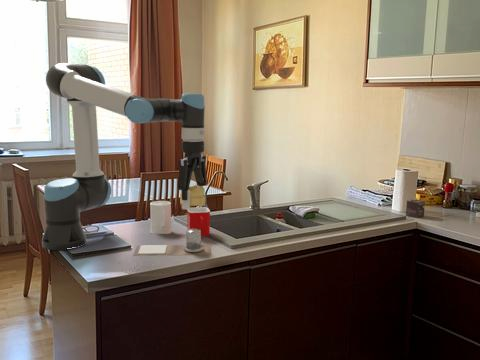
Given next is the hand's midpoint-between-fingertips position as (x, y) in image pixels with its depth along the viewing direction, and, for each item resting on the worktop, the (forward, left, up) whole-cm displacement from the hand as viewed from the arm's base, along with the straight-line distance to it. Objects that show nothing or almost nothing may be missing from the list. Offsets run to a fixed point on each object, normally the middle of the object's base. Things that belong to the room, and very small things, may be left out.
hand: (192, 206), depth 162 cm
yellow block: (0, 0, +1) cm, 1 cm away
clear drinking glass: (0, 0, -15) cm, 15 cm away
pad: (-14, 0, -15) cm, 21 cm away
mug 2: (+2, +18, -17) cm, 25 cm away
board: (-7, 0, -16) cm, 18 cm away
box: (+102, +48, -17) cm, 114 cm away
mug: (-13, +25, -17) cm, 33 cm away
